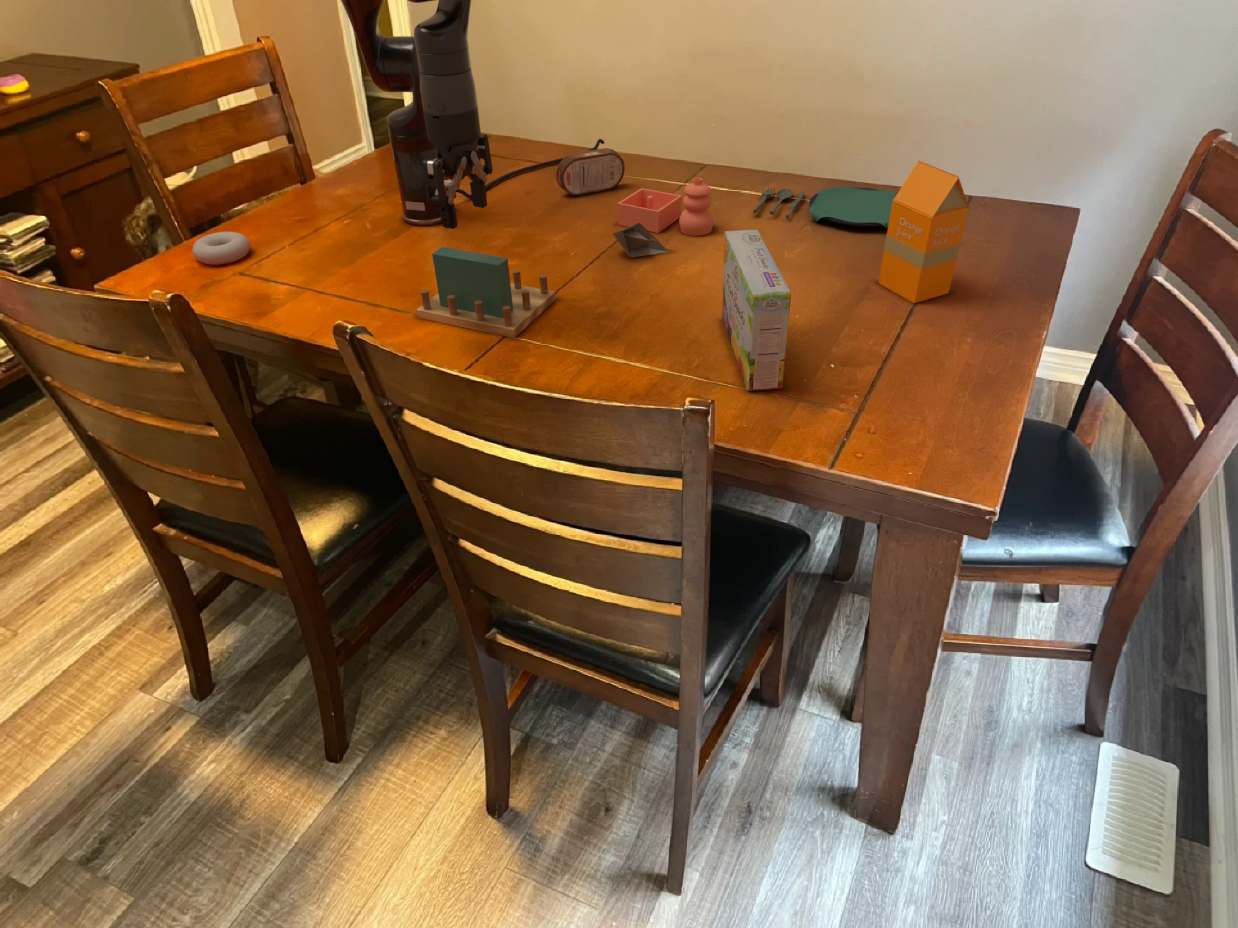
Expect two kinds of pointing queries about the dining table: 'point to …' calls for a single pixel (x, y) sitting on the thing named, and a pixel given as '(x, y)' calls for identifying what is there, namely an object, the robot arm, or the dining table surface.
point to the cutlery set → (842, 205)
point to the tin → (590, 171)
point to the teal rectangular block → (473, 280)
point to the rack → (524, 312)
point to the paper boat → (638, 241)
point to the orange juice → (924, 234)
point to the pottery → (669, 209)
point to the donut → (221, 248)
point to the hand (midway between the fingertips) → (465, 216)
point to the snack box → (755, 309)
